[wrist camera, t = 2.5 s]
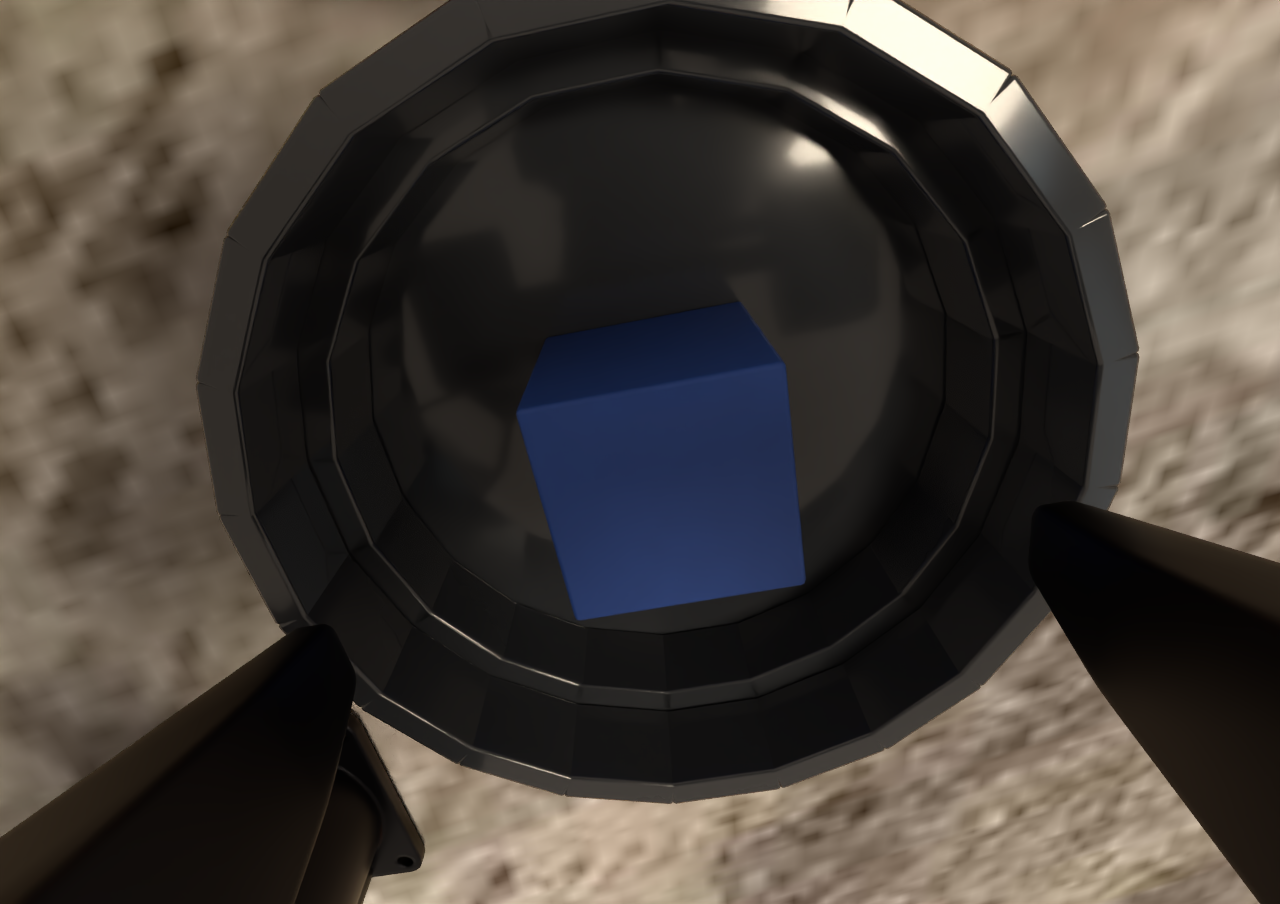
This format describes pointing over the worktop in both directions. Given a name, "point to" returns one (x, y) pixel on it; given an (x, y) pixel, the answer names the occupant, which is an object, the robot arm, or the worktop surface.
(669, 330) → the blue block
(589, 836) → the worktop surface
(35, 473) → the worktop surface
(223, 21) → the worktop surface
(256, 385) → the charcoal bowl
